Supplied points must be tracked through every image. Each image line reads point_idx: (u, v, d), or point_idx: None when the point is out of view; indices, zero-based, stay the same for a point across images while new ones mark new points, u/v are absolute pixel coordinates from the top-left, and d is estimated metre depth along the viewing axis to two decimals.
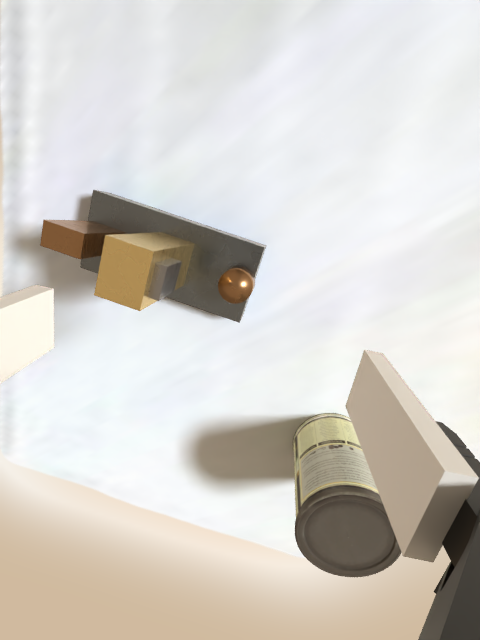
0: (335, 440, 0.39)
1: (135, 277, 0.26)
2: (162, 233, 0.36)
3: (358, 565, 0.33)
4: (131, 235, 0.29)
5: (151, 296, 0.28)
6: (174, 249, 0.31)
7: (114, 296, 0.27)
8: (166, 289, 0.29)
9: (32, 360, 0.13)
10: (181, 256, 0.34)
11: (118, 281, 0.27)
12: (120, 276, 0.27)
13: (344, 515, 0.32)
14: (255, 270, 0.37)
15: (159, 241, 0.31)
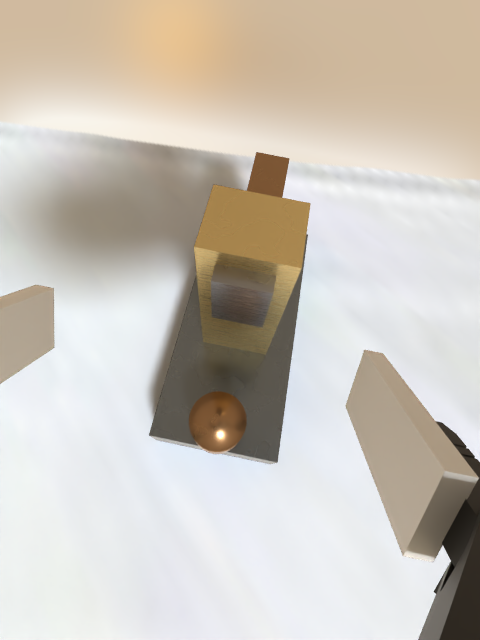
0: None
1: (252, 241, 0.16)
2: None
3: None
4: None
5: (217, 269, 0.16)
6: (279, 315, 0.20)
7: (215, 210, 0.16)
8: (225, 298, 0.17)
9: (32, 360, 0.13)
10: (257, 332, 0.23)
11: (240, 216, 0.16)
12: (249, 220, 0.16)
13: None
14: (239, 452, 0.23)
15: None
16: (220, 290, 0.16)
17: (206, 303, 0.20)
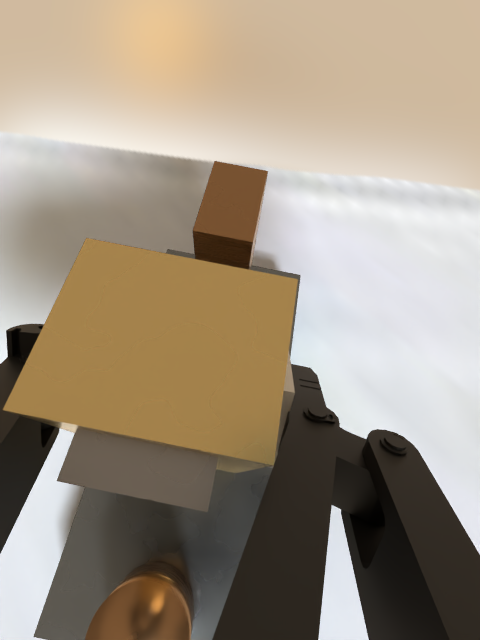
0: None
1: (155, 386, 0.06)
2: None
3: None
4: None
5: (78, 446, 0.07)
6: (243, 469, 0.11)
7: (79, 303, 0.07)
8: None
9: None
10: None
11: (135, 318, 0.07)
12: (156, 328, 0.07)
13: None
14: None
15: None
16: None
17: None
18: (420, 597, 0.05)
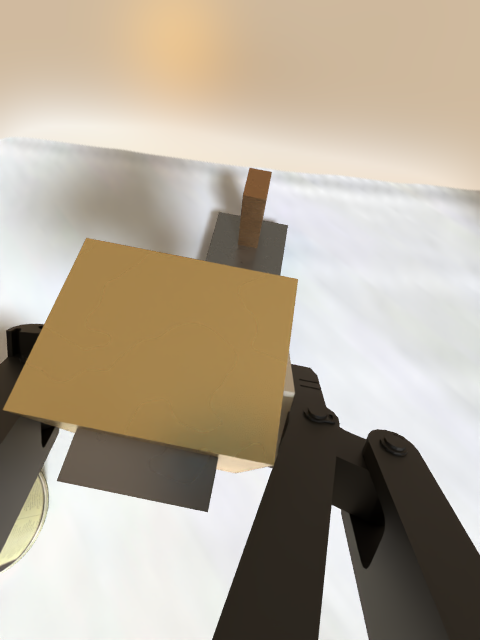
0: None
1: (155, 386, 0.06)
2: None
3: None
4: None
5: (78, 446, 0.07)
6: (243, 469, 0.11)
7: (79, 303, 0.07)
8: None
9: None
10: None
11: (136, 317, 0.07)
12: (156, 328, 0.07)
13: None
14: None
15: None
16: None
17: None
18: (420, 597, 0.05)
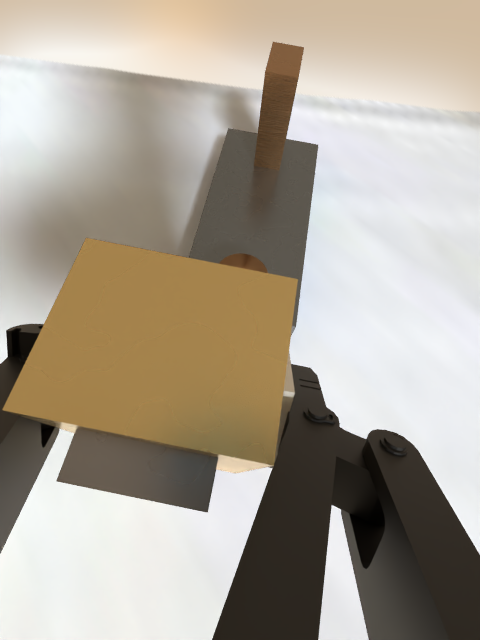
0: None
1: (154, 386, 0.06)
2: None
3: None
4: None
5: (78, 446, 0.07)
6: (243, 469, 0.11)
7: (79, 303, 0.07)
8: None
9: None
10: None
11: (135, 318, 0.07)
12: (156, 327, 0.07)
13: None
14: None
15: None
16: None
17: None
18: (420, 597, 0.05)
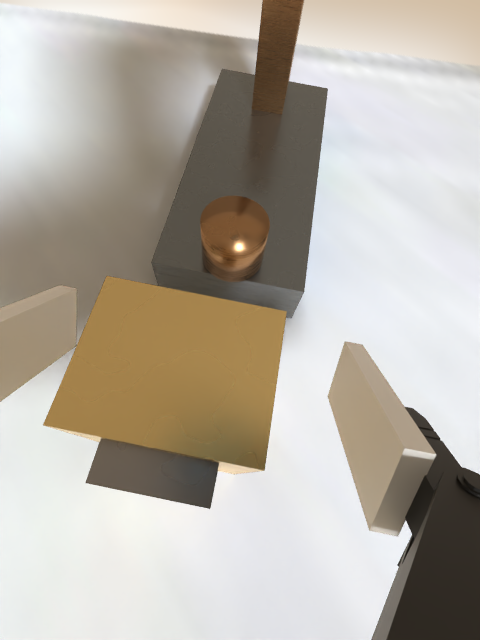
0: None
1: (167, 405, 0.08)
2: None
3: None
4: None
5: (102, 453, 0.08)
6: (241, 472, 0.12)
7: (102, 334, 0.08)
8: None
9: (56, 358, 0.14)
10: None
11: (149, 346, 0.08)
12: (167, 355, 0.08)
13: None
14: (258, 281, 0.19)
15: None
16: None
17: None
18: None
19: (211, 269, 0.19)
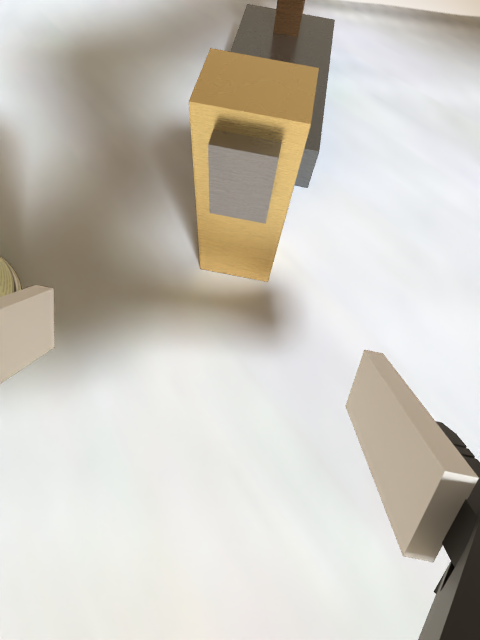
0: None
1: (254, 98, 0.14)
2: None
3: None
4: None
5: (215, 134, 0.14)
6: (283, 213, 0.18)
7: (213, 70, 0.14)
8: (224, 175, 0.15)
9: (32, 360, 0.13)
10: (258, 244, 0.21)
11: (241, 76, 0.14)
12: (251, 80, 0.14)
13: None
14: None
15: None
16: (219, 161, 0.15)
17: (203, 203, 0.18)
18: None
19: None
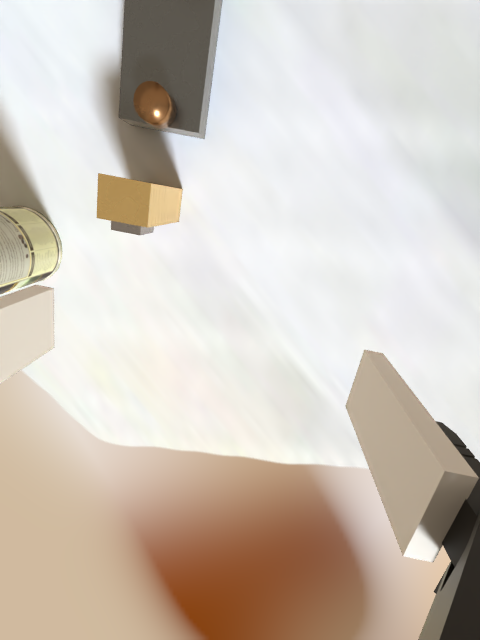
0: (29, 241, 0.40)
1: (123, 212, 0.32)
2: (180, 192, 0.42)
3: None
4: (162, 190, 0.34)
5: (112, 222, 0.33)
6: (161, 224, 0.37)
7: (102, 193, 0.31)
8: None
9: (32, 360, 0.13)
10: None
11: (115, 196, 0.31)
12: (120, 198, 0.31)
13: None
14: (175, 127, 0.37)
15: (165, 209, 0.37)
16: None
17: None
18: None
19: (148, 123, 0.36)
